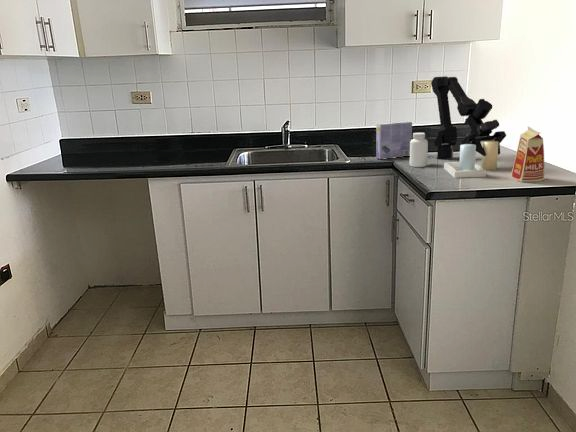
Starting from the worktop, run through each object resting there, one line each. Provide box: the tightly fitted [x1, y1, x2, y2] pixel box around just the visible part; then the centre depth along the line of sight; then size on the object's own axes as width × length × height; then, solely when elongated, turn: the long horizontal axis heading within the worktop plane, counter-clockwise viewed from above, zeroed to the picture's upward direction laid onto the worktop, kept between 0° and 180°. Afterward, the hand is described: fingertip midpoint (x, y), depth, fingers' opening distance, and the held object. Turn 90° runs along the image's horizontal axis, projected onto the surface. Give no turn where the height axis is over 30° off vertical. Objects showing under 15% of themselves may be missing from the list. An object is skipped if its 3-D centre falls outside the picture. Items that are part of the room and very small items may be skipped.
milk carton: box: [510, 126, 545, 183], centre depth 187 cm, size 9×9×20 cm
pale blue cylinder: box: [459, 143, 477, 171], centre depth 201 cm, size 6×6×12 cm
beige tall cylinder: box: [481, 141, 499, 171], centre depth 210 cm, size 6×6×12 cm
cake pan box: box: [375, 121, 413, 160], centre depth 250 cm, size 19×5×18 cm, turn 108°
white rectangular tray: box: [443, 161, 487, 179], centre depth 207 cm, size 20×12×3 cm, turn 175°
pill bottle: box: [408, 132, 429, 168], centre depth 226 cm, size 8×8×15 cm
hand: (492, 154), depth 208 cm, fingers open, 7 cm apart
